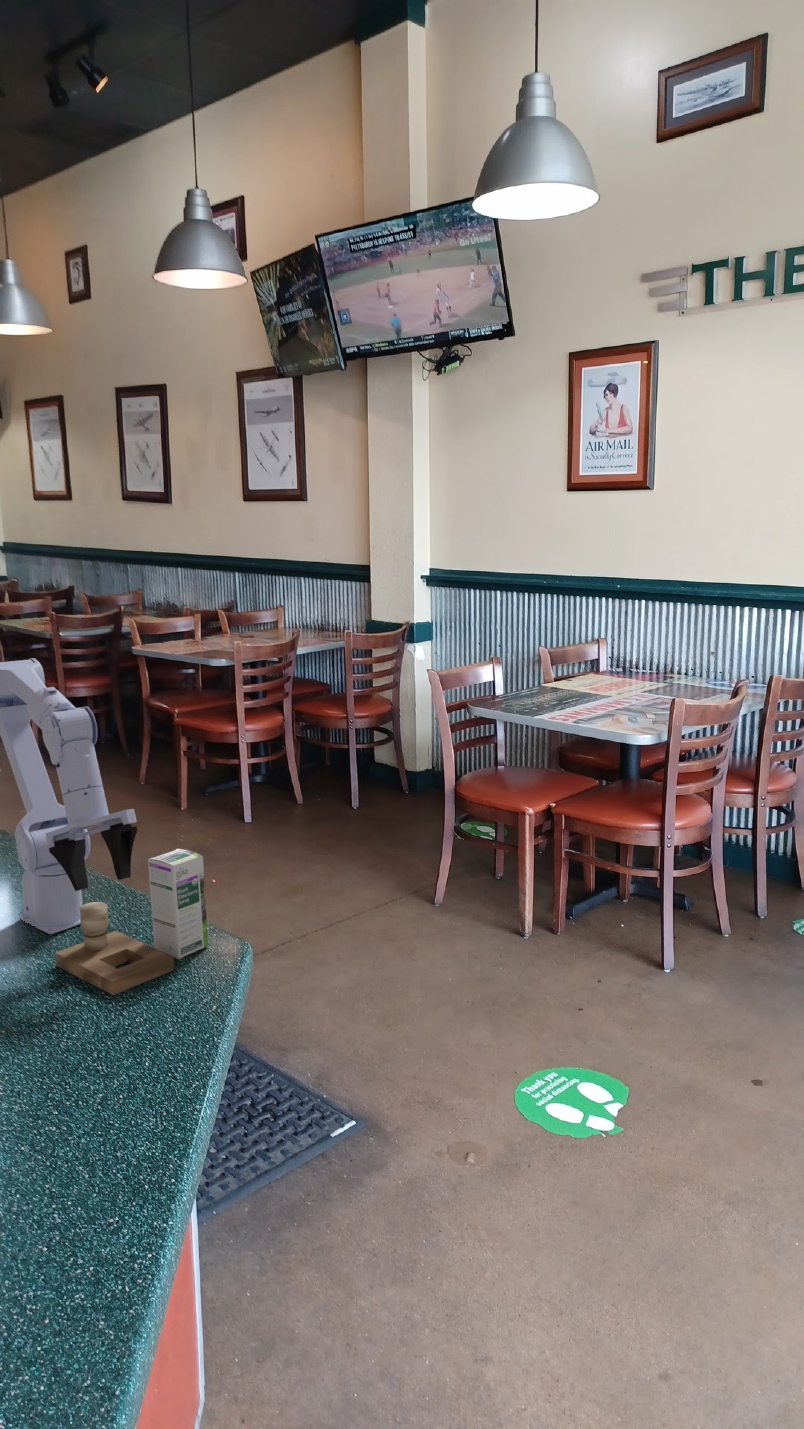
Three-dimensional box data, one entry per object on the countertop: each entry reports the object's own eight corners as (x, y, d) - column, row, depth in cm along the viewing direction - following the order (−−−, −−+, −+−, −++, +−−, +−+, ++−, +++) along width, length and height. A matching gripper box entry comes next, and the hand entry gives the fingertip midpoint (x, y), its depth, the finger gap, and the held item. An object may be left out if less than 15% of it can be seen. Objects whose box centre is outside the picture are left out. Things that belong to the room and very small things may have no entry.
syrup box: (179, 960, 145) (174, 865, 142) (152, 950, 148) (147, 856, 146) (208, 947, 149) (204, 854, 147) (182, 937, 153) (177, 846, 150)
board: (56, 965, 143) (55, 952, 143) (116, 943, 151) (115, 930, 151) (113, 995, 135) (112, 981, 134) (174, 969, 142) (173, 956, 142)
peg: (77, 946, 145) (74, 907, 144) (100, 938, 148) (97, 899, 147) (91, 953, 143) (89, 914, 141) (115, 945, 145) (112, 906, 144)
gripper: (23, 805, 143) (43, 899, 141) (105, 780, 138) (126, 877, 136) (57, 801, 149) (76, 891, 148) (136, 777, 144) (157, 870, 143)
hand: (102, 884), depth 143 cm, fingers open, 7 cm apart
